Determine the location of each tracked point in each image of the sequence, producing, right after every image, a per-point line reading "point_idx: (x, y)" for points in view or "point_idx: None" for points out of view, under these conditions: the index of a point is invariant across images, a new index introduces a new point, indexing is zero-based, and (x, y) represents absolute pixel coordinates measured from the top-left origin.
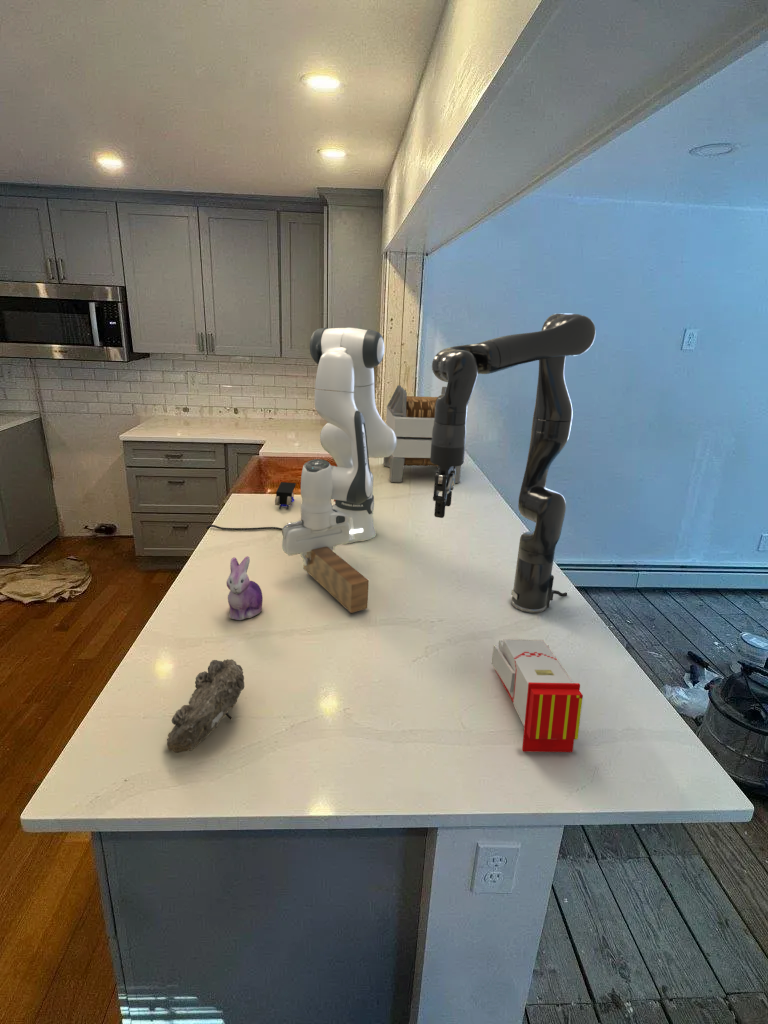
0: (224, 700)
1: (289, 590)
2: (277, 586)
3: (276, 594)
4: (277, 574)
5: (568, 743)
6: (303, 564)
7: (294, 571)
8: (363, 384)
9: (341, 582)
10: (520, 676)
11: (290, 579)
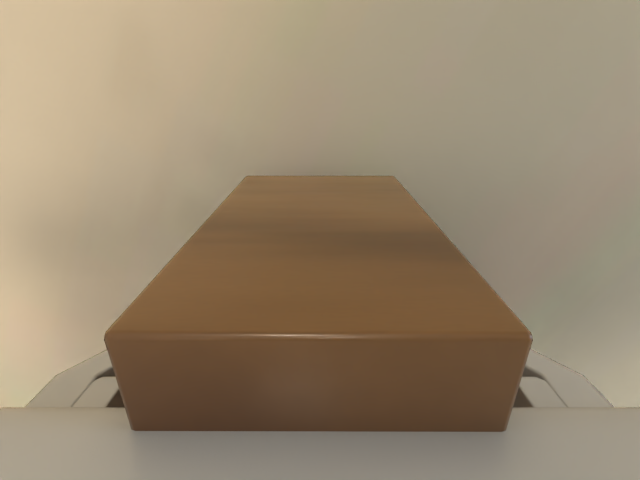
0: None
1: (92, 335)
2: (25, 260)
3: (7, 343)
4: (51, 77)
5: None
6: (236, 188)
7: (202, 93)
8: None
9: None
10: None
11: (134, 209)
